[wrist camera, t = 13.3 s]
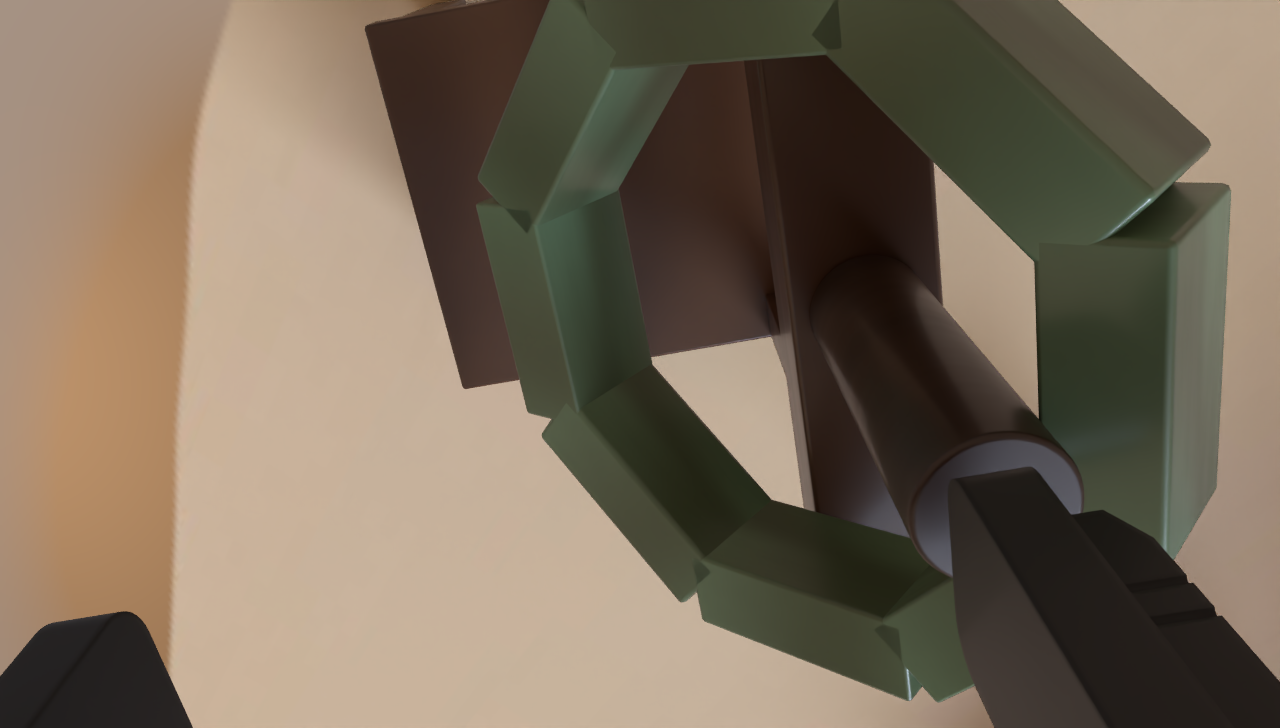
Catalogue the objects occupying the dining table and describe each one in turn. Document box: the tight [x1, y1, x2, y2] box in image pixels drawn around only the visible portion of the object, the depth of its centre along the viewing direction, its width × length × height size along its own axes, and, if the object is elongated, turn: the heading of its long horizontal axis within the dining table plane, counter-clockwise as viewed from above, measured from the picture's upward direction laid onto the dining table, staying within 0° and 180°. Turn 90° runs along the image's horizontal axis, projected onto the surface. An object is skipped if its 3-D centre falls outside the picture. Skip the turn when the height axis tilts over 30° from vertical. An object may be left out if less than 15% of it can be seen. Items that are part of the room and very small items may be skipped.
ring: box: [476, 0, 1231, 702], centre depth 15 cm, size 11×11×2 cm
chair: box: [365, 0, 1084, 578], centre depth 22 cm, size 11×10×26 cm
